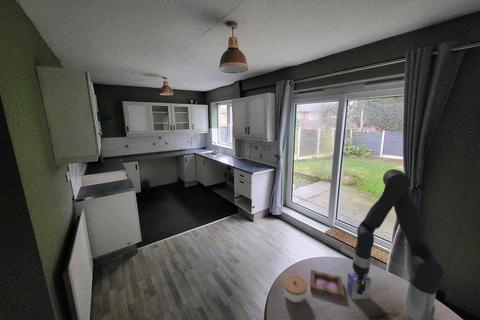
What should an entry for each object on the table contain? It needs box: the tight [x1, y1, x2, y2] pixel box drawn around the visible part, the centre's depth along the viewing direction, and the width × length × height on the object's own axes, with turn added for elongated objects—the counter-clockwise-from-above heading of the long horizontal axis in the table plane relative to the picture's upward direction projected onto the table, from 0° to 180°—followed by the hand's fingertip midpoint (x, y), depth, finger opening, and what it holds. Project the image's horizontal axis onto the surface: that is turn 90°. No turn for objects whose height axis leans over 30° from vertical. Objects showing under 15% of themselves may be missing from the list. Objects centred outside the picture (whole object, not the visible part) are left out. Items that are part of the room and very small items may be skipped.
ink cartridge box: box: [346, 271, 372, 300], centre depth 104 cm, size 10×6×14 cm, turn 91°
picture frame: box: [309, 269, 345, 302], centre depth 111 cm, size 17×13×4 cm
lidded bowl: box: [282, 273, 308, 304], centre depth 104 cm, size 13×13×11 cm
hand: (357, 287), depth 105 cm, fingers open, 8 cm apart
